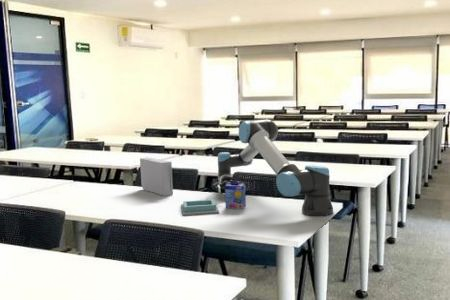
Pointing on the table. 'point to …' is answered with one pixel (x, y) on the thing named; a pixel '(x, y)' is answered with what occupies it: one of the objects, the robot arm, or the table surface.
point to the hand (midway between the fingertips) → (232, 189)
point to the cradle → (199, 207)
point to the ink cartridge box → (235, 195)
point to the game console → (156, 176)
